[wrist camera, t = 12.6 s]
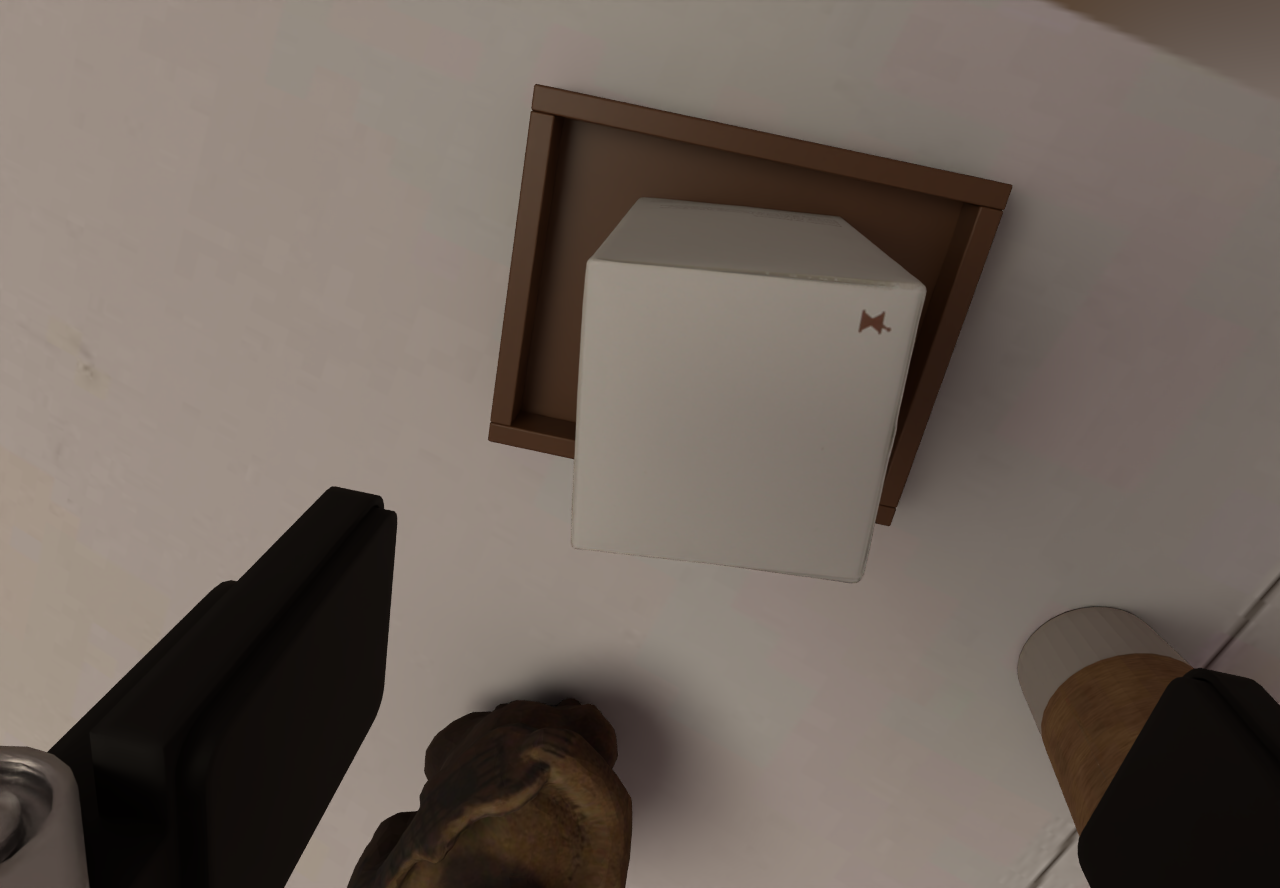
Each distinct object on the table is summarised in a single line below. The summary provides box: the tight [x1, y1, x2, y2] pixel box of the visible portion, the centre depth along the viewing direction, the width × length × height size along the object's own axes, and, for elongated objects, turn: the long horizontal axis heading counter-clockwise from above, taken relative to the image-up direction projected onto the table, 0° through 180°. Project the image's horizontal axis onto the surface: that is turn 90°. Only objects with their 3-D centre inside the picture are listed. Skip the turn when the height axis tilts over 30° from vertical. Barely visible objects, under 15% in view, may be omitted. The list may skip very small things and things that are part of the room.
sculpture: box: [347, 698, 632, 888], centre depth 32 cm, size 11×11×15 cm
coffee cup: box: [1018, 607, 1194, 836], centre depth 28 cm, size 8×8×15 cm
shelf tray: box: [488, 84, 1012, 526], centre depth 29 cm, size 13×16×3 cm
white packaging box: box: [571, 197, 927, 583], centre depth 24 cm, size 7×7×13 cm
